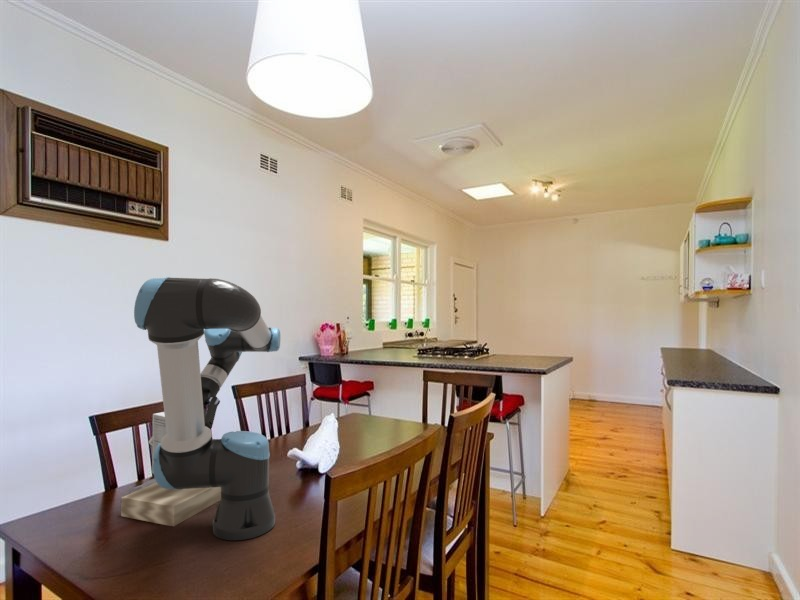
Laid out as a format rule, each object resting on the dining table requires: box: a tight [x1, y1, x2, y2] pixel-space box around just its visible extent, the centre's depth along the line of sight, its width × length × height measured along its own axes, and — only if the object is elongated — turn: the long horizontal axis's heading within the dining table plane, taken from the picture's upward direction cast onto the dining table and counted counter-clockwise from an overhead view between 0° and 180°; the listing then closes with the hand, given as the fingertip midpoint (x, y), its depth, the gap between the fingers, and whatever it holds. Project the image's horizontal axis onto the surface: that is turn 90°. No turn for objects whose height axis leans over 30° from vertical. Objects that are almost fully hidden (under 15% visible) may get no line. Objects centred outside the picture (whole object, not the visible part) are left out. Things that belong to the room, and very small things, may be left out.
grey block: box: [128, 477, 156, 494], centre depth 135 cm, size 12×5×10 cm
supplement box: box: [151, 411, 167, 475], centre depth 126 cm, size 10×9×17 cm
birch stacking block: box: [120, 482, 221, 527], centre depth 125 cm, size 18×18×5 cm
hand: (168, 447), depth 123 cm, fingers closed on supplement box, 11 cm apart
